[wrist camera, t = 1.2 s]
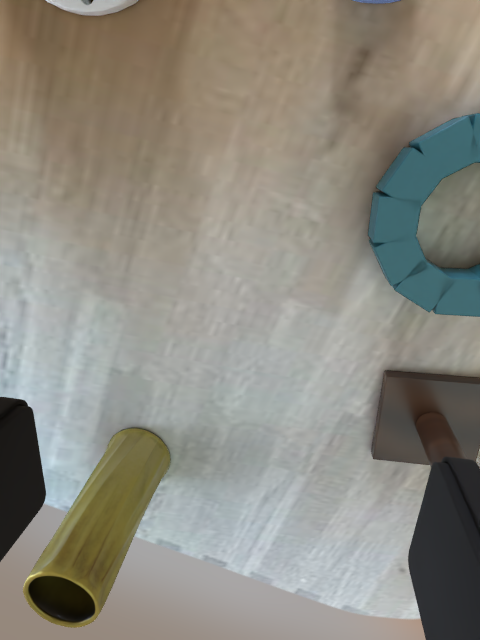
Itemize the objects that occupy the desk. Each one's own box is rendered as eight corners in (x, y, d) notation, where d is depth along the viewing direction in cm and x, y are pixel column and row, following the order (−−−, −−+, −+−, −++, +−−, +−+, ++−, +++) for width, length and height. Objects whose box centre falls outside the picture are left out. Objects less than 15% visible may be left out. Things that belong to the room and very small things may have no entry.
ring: (382, 115, 27) (390, 113, 24) (593, 116, 25) (623, 113, 23) (359, 297, 31) (363, 310, 29) (536, 307, 30) (556, 321, 28)
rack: (384, 370, 33) (439, 526, 20) (492, 378, 32) (628, 549, 19) (371, 451, 36) (410, 636, 23) (469, 461, 35) (572, 661, 22)
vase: (183, 451, 39) (122, 603, 26) (150, 489, 42) (80, 645, 29) (128, 415, 39) (37, 553, 26) (98, 455, 41) (2, 599, 28)
